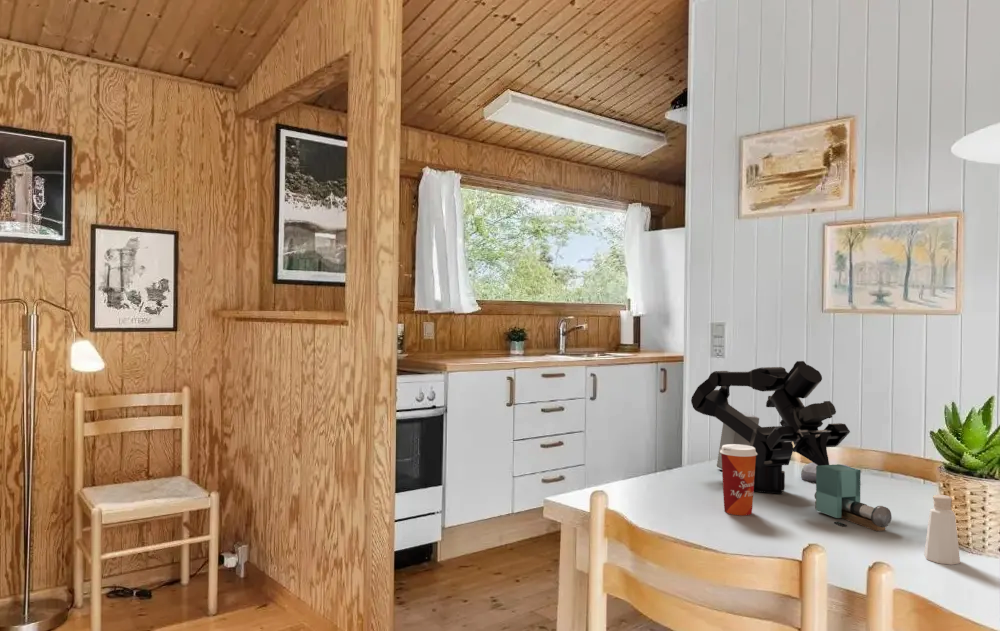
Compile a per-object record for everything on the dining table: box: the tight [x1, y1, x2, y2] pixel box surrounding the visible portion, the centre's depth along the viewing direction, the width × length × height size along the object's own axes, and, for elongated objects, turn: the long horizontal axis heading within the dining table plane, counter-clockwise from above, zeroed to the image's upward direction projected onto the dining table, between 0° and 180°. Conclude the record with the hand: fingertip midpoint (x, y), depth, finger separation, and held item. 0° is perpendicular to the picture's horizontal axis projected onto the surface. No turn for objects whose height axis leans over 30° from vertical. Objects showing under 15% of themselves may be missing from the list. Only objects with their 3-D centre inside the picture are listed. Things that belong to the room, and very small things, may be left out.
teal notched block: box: [815, 463, 862, 519], centre depth 152 cm, size 6×6×10 cm
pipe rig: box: [814, 492, 892, 532], centre depth 149 cm, size 18×11×5 cm, turn 17°
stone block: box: [800, 462, 851, 483], centre depth 184 cm, size 12×5×10 cm
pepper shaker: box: [923, 494, 961, 566], centre depth 124 cm, size 5×5×11 cm
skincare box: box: [716, 411, 760, 470], centre depth 193 cm, size 8×7×16 cm
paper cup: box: [720, 444, 757, 517], centre depth 154 cm, size 8×8×14 cm
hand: (827, 468), depth 155 cm, fingers closed, pressing on teal notched block
